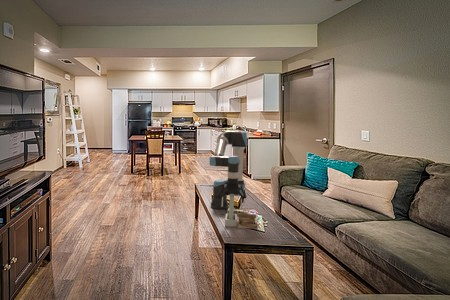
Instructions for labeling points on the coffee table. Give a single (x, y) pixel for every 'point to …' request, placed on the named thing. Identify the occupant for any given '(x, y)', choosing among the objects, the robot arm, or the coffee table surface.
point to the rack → (241, 216)
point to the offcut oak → (245, 219)
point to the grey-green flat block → (231, 206)
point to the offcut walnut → (246, 222)
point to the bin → (231, 221)
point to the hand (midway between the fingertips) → (231, 206)
